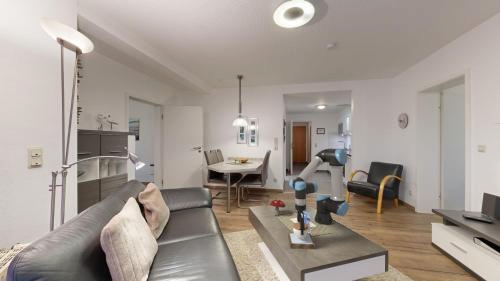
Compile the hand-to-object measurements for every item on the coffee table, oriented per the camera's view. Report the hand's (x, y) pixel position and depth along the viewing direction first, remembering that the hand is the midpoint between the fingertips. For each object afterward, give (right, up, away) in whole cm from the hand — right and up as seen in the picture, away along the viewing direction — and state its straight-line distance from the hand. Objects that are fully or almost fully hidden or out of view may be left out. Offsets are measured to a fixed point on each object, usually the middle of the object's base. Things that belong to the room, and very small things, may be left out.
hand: (300, 234), depth 140 cm
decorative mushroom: (-9, -5, +51) cm, 52 cm away
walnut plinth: (0, -5, 0) cm, 5 cm away
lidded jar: (0, -1, 0) cm, 1 cm away
